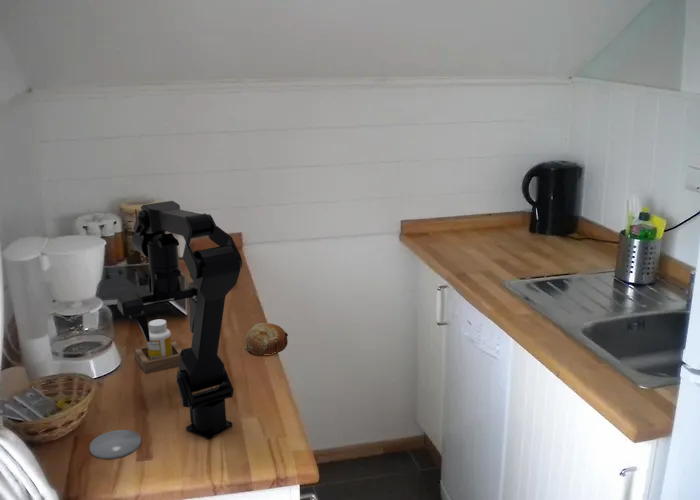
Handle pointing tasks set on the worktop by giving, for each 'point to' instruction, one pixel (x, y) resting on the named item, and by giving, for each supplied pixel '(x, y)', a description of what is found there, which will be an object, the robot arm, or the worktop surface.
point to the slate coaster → (115, 444)
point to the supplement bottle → (159, 340)
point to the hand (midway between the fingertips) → (170, 336)
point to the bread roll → (266, 339)
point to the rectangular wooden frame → (157, 359)
